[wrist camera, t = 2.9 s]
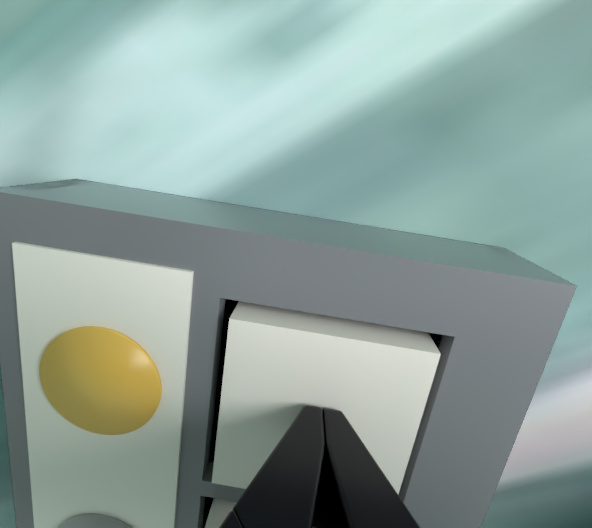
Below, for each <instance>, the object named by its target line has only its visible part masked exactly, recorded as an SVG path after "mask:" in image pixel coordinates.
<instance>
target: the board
mask: <svg viewBox="0 0 592 528" xmlns="http://www.w3.org/2000/svg"><path fill="white" fill-rule="evenodd" d="M576 287H577V286H576V285H574V284H572V283H570V282H569V281H567V280H565V279H563V278H561V277H559V276H557V275H555V274H553V273H551V272H549V271H548V270H546V269H544V268H542V267H540V266H538V265H536V264H534V263H532V262H530V261H529V260H527V259H525V258H523V257H521V256H519V255H517V254H515V253H513V252H511V251H509V250H508V249H506V248H501V247H495V246H488V245H482V244H476V243H470V242H464V241H457V240H451V239H445V238H439V237H433V236H426V235H420V234H414V233H408V232H402V231H395V230H389V229H383V228H377V227H371V226H364V225H358V224H352V223H346V222H340V221H333V220H327V219H321V218H315V217H309V216H302V215H296V214H290V213H284V212H278V211H271V210H265V209H259V208H253V207H247V206H240V205H234V204H228V203H222V202H216V201H209V200H203V199H197V198H191V197H185V196H179V195H172V194H166V193H160V192H154V191H148V190H141V189H135V188H129V187H123V186H117V185H110V184H104V183H98V182H92V181H86V180H79V179H72V180H63V181H54V182H45V183H36V184H27V185H18V186H9V187H0V366H1V377H2V387H3V397H4V408H5V418H6V428H7V438H8V449H9V459H10V469H11V479H12V490H13V500H14V510H15V520H16V528H202V524H203V515H204V505H205V497H211V498H217V499H222V500H228V501H234V502H237V501H238V500H239V498H240V497H241V496H242V494H243V493H244V491H245V490H246V489H243V488H237V487H232V486H226V485H220V484H215V483H212V475H213V465H214V462H209V456H210V446H211V436H212V427H213V417H214V407H215V397H216V387H217V378H218V368H219V358H220V348H221V338H222V329H223V319H224V309H225V299H230V300H236V301H242V302H248V303H254V304H260V305H266V306H272V307H278V308H284V309H290V310H296V311H302V312H308V313H314V314H320V315H326V316H332V317H338V318H344V319H350V320H356V321H362V322H368V323H374V324H380V325H386V326H392V327H398V328H404V329H410V330H416V331H422V332H428V333H434V334H441V335H442V338H441V341H440V345H439V348H438V350H439V352H440V353H441V355H440V359H439V362H438V365H437V369H436V372H435V375H434V379H433V382H432V385H431V389H430V392H429V395H428V398H427V402H426V405H425V408H424V412H423V415H422V418H421V422H420V425H419V428H418V432H417V435H416V438H415V442H414V445H413V448H412V451H411V455H410V458H409V461H408V465H407V468H406V471H405V475H404V478H403V481H402V485H401V488H400V491H399V494H398V495H399V497H400V498H401V500H402V501H403V503H404V504H405V506H406V507H407V509H408V510H409V512H410V513H411V515H412V516H413V517H414V519H415V520H416V522H417V523H418V525H419V526H420V528H480V527H481V525H482V522H483V520H484V517H485V515H486V512H487V510H488V507H489V505H490V502H491V500H492V497H493V495H494V492H495V490H496V487H497V485H498V482H499V480H500V477H501V475H502V472H503V470H504V467H505V465H506V462H507V460H508V457H509V455H510V452H511V450H512V447H513V445H514V442H515V440H516V437H517V435H518V432H519V430H520V427H521V425H522V422H523V420H524V417H525V415H526V412H527V410H528V407H529V405H530V402H531V400H532V397H533V395H534V392H535V390H536V387H537V385H538V382H539V380H540V377H541V375H542V372H543V370H544V367H545V365H546V362H547V360H548V357H549V355H550V352H551V350H552V347H553V345H554V342H555V340H556V337H557V335H558V332H559V330H560V327H561V325H562V322H563V320H564V317H565V315H566V312H567V310H568V307H569V305H570V302H571V300H572V297H573V295H574V292H575V290H576Z"/></svg>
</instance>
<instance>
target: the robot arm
mask: <svg viewBox="0 0 592 528" xmlns="http://www.w3.org/2000/svg"><path fill="white" fill-rule="evenodd" d="M219 528H420V526H419V525H418V523H417V522H416V520H415V519H414V517H413V516H412V515H411V513H410V512H409V510H408V509H407V507H406V506H405V504H404V503H403V501H402V500H401V498H400V497H399V495H398V494H397V492H396V491H395V489H394V488H393V486H392V485H391V483H390V482H389V480H388V479H387V477H386V476H385V474H384V473H383V472H382V470H381V469H380V467H379V466H378V464H377V463H376V461H375V460H374V458H373V457H372V455H371V454H370V452H369V451H368V449H367V448H366V446H365V445H364V443H363V442H362V440H361V439H360V437H359V436H358V434H357V433H356V431H355V430H354V429H353V427H352V426H351V424H350V423H349V421H348V420H347V418H346V417H345V415H344V414H343V412H342V411H340V410H335V409H329V408H325V409H323V410H322V408H321V407H317V406H311V405H305V406H303V408H302V409H301V411H300V412H299V413H298V415H297V416H296V418H295V419H294V421H293V422H292V424H291V425H290V426H289V428H288V429H287V431H286V432H285V434H284V435H283V436H282V438H281V439H280V441H279V442H278V444H277V445H276V447H275V448H274V449H273V451H272V452H271V454H270V455H269V457H268V458H267V460H266V461H265V462H264V464H263V465H262V467H261V468H260V470H259V471H258V472H257V474H256V475H255V477H254V478H253V480H252V481H251V483H250V484H249V485H248V487H247V488H246V490H245V491H244V493H243V494H242V496H241V497H240V498H239V500H238V501H237V503H236V504H235V506H234V507H233V510H232V511H230V512H229V514H228V515H227V517H226V518H225V520H224V521H223V522H222V524H221V525H220V527H219Z"/></svg>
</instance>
